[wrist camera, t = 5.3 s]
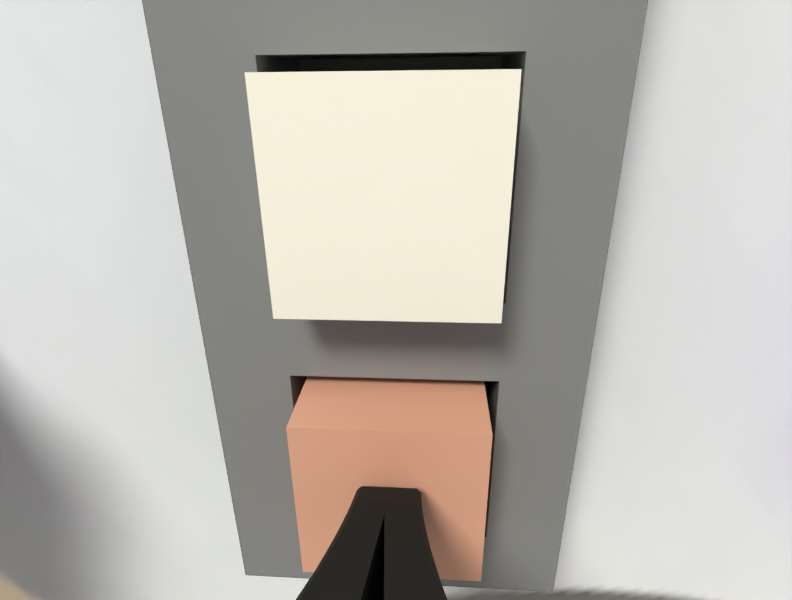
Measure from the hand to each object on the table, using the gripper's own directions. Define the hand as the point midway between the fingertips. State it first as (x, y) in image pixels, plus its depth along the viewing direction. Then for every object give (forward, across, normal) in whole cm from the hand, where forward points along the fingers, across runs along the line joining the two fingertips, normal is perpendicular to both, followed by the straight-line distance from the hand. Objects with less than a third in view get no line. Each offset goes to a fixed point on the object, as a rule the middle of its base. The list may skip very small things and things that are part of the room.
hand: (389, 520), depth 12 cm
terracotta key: (+3, 0, 0) cm, 3 cm away
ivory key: (+3, 0, -7) cm, 8 cm away
